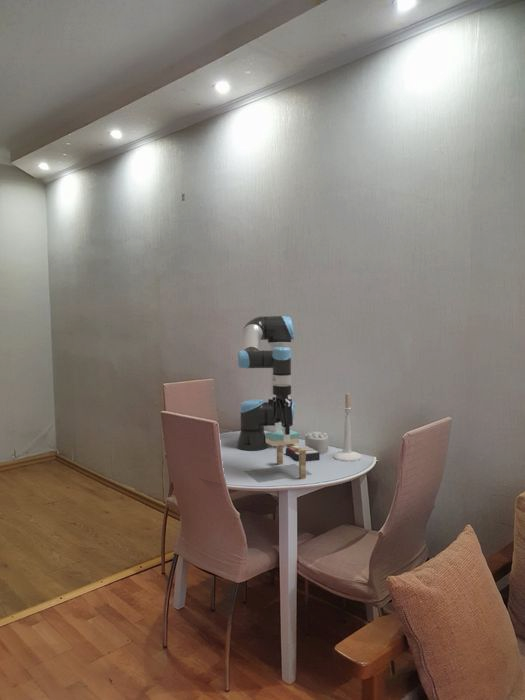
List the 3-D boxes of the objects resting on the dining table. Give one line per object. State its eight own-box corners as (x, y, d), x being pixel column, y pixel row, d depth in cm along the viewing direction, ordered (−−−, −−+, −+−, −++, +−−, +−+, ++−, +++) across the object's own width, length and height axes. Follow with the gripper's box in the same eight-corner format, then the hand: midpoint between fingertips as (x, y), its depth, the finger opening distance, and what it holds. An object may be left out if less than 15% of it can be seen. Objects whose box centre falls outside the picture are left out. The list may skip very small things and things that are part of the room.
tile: (265, 442, 218) (265, 432, 218) (291, 439, 223) (291, 430, 222) (272, 446, 211) (272, 436, 211) (299, 443, 216) (299, 433, 216)
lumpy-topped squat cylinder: (323, 446, 259) (323, 429, 259) (331, 453, 247) (331, 435, 246) (303, 448, 257) (303, 430, 257) (310, 455, 245) (310, 436, 244)
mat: (243, 471, 220) (243, 471, 220) (294, 464, 229) (294, 463, 229) (258, 483, 205) (258, 482, 205) (312, 475, 215) (312, 474, 215)
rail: (276, 464, 230) (276, 438, 229) (280, 464, 230) (280, 437, 230) (301, 480, 209) (301, 450, 208) (305, 479, 209) (305, 450, 208)
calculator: (306, 444, 250) (319, 451, 236) (307, 453, 251) (320, 460, 236) (285, 446, 247) (297, 453, 233) (285, 455, 247) (297, 462, 233)
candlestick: (333, 461, 234) (333, 394, 232) (333, 453, 247) (333, 390, 245) (362, 461, 233) (362, 395, 231) (360, 454, 245) (361, 390, 243)
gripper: (263, 382, 223) (264, 435, 225) (284, 388, 205) (284, 446, 206) (279, 381, 226) (280, 433, 228) (301, 387, 208) (301, 444, 209)
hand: (282, 439), depth 217 cm, fingers closed on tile, 7 cm apart
